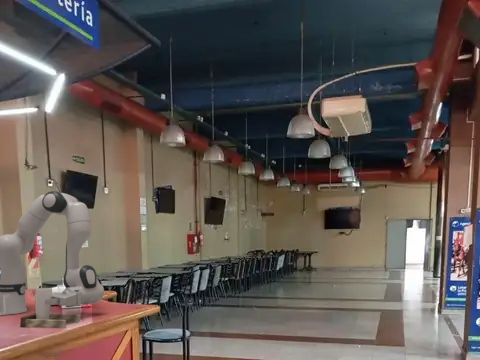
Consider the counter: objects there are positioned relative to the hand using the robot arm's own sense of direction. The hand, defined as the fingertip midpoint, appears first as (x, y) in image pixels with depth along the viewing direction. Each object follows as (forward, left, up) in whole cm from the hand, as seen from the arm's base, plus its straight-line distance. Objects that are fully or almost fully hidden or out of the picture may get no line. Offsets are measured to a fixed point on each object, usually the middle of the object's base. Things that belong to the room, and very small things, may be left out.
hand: (41, 301), depth 197 cm
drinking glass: (0, +1, -10) cm, 10 cm away
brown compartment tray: (+4, +1, -10) cm, 11 cm away
